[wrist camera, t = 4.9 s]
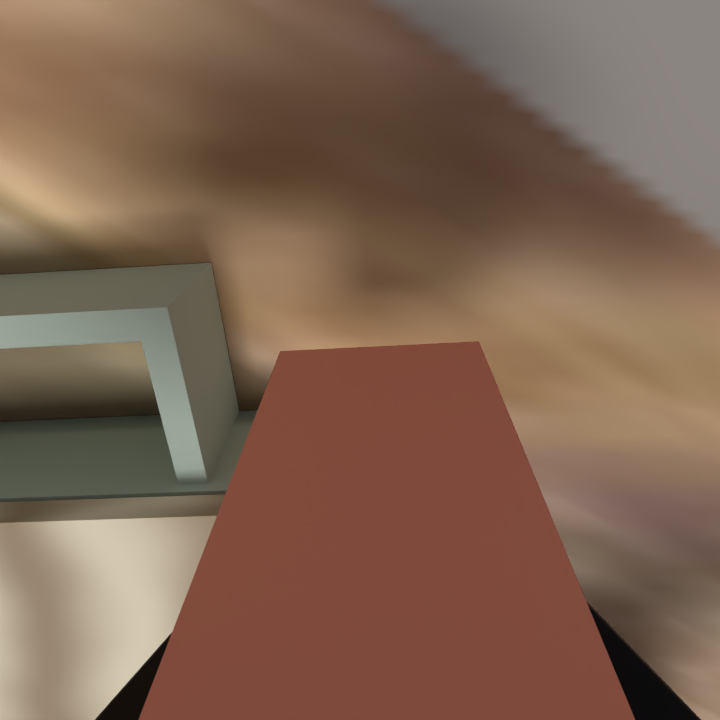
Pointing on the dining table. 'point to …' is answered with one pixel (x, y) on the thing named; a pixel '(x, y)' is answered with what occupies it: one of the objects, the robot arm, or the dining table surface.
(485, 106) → the dining table surface
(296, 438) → the red rectangular block
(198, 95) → the dining table surface
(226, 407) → the grey-green open box
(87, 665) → the slatted box lid
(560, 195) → the dining table surface
